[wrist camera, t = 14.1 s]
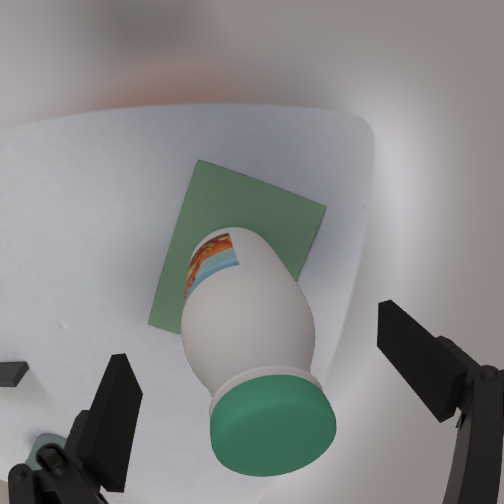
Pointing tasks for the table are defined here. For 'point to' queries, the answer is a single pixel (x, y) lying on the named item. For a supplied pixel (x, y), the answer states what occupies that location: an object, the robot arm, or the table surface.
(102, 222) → the table surface
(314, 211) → the mat
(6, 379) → the dark grey u-shaped frame
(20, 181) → the table surface
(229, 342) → the milk bottle
